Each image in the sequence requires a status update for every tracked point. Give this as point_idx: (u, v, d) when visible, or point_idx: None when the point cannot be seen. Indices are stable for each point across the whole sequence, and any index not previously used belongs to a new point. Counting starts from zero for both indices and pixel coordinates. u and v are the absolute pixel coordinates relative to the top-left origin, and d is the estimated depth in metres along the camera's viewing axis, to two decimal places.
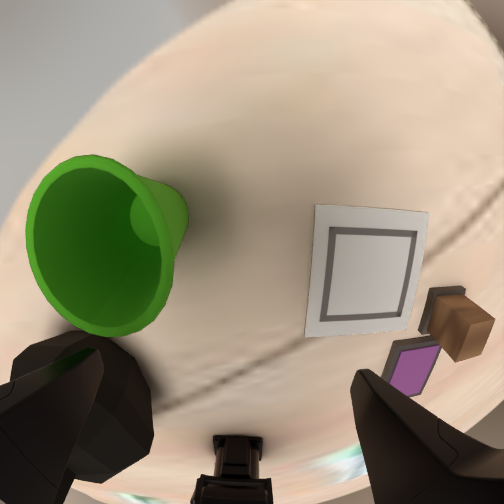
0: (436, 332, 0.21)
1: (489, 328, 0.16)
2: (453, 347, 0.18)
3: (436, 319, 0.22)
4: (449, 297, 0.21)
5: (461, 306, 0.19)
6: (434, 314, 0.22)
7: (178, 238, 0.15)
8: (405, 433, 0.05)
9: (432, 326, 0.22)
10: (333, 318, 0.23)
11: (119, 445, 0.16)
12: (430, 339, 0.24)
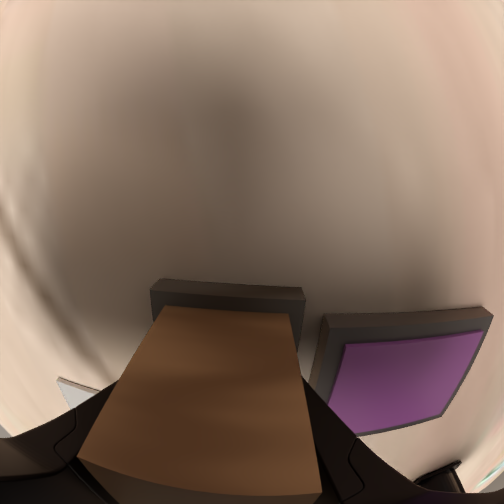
0: None
1: (131, 484, 0.03)
2: None
3: None
4: None
5: None
6: None
7: None
8: None
9: None
10: None
11: None
12: (317, 369, 0.10)
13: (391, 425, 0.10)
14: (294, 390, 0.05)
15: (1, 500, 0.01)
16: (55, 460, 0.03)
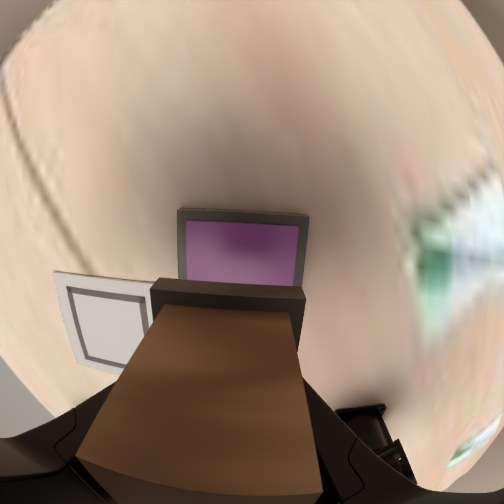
0: None
1: (130, 484, 0.03)
2: None
3: None
4: None
5: None
6: None
7: None
8: None
9: None
10: None
11: None
12: None
13: None
14: (294, 389, 0.05)
15: (1, 500, 0.01)
16: (55, 460, 0.03)
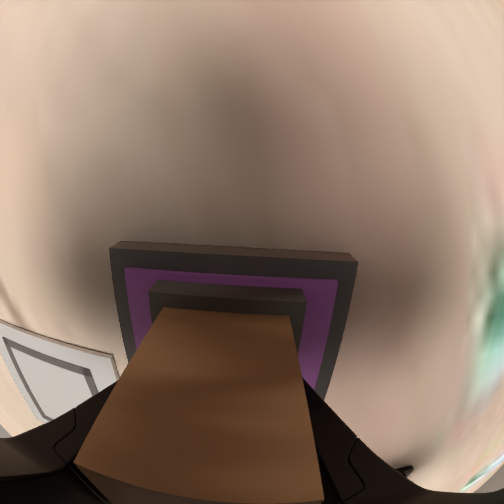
0: None
1: (129, 491, 0.03)
2: None
3: None
4: None
5: None
6: None
7: None
8: None
9: None
10: None
11: None
12: None
13: None
14: (295, 394, 0.05)
15: (1, 500, 0.01)
16: (55, 460, 0.03)
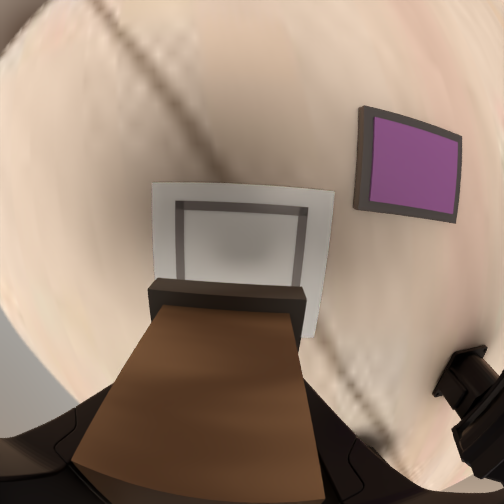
0: None
1: (127, 490, 0.03)
2: None
3: None
4: None
5: None
6: None
7: None
8: None
9: None
10: None
11: None
12: (361, 137, 0.15)
13: (419, 206, 0.16)
14: (295, 392, 0.05)
15: (1, 500, 0.01)
16: (55, 460, 0.03)
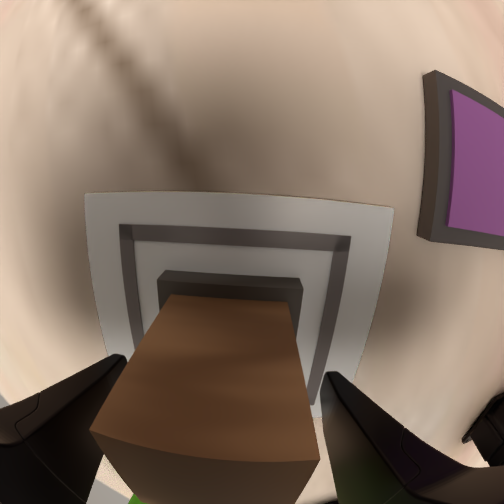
0: None
1: (140, 457, 0.03)
2: None
3: None
4: None
5: None
6: None
7: None
8: (365, 442, 0.05)
9: None
10: (313, 388, 0.11)
11: None
12: (434, 119, 0.08)
13: (502, 233, 0.08)
14: (293, 368, 0.06)
15: None
16: (14, 435, 0.03)
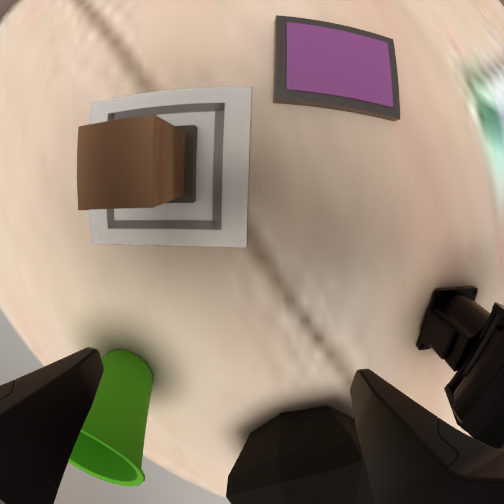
0: None
1: (93, 133, 0.10)
2: None
3: None
4: None
5: None
6: None
7: None
8: (405, 433, 0.05)
9: None
10: (217, 210, 0.18)
11: (322, 490, 0.14)
12: (275, 39, 0.14)
13: (347, 95, 0.15)
14: None
15: None
16: None
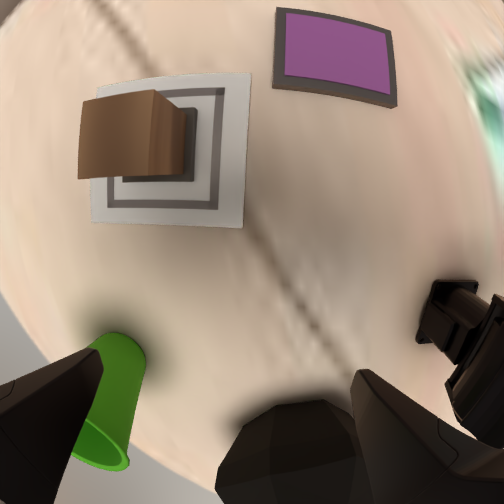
0: None
1: (96, 107, 0.10)
2: None
3: None
4: None
5: None
6: None
7: None
8: (405, 433, 0.05)
9: None
10: (214, 190, 0.18)
11: (313, 485, 0.13)
12: (275, 29, 0.14)
13: (344, 81, 0.15)
14: None
15: None
16: None
